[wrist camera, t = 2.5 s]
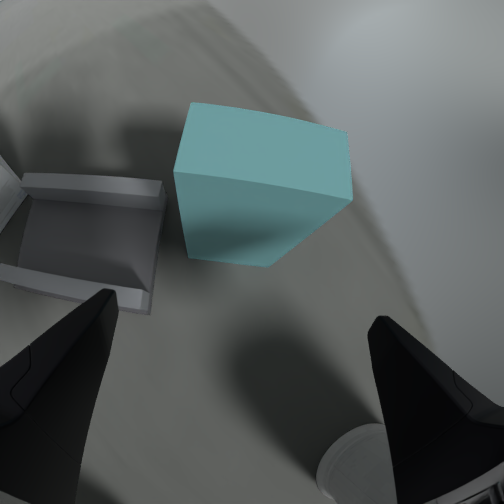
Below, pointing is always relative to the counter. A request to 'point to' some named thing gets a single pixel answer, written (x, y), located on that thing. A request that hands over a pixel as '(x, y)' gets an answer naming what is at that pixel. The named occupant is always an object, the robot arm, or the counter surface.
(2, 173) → the light bulb box
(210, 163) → the teal rectangular block
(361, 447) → the glass holder
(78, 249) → the floor track
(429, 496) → the robot arm
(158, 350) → the counter surface
